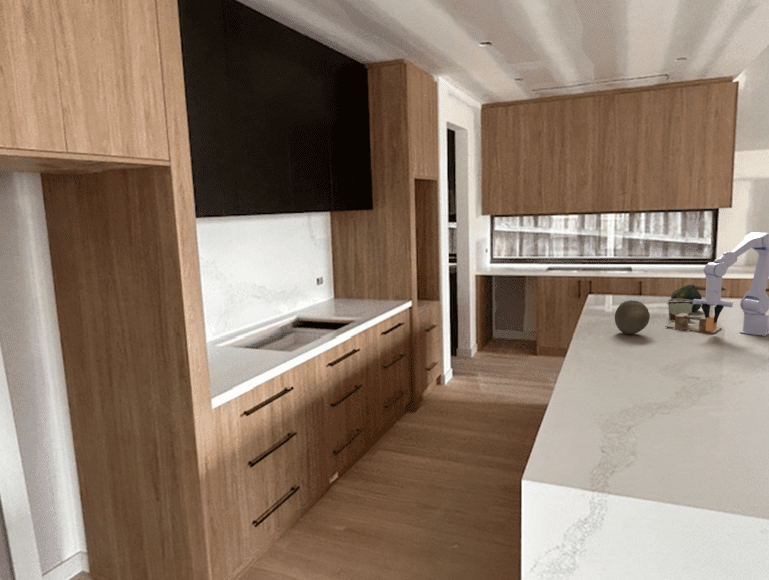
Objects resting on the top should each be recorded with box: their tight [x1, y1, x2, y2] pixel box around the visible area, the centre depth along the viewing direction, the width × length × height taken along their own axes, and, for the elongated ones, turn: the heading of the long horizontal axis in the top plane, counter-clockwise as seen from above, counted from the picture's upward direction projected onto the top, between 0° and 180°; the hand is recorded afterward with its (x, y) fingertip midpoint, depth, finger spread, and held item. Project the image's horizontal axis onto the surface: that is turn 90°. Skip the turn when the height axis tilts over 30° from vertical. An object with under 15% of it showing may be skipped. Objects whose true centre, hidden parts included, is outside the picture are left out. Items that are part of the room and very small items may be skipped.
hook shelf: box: [664, 313, 723, 335], centre depth 255 cm, size 20×13×6 cm, turn 46°
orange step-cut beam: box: [706, 315, 718, 331], centre depth 239 cm, size 2×7×6 cm, turn 136°
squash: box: [670, 284, 703, 312], centre depth 297 cm, size 14×15×15 cm
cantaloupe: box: [614, 299, 651, 335], centre depth 245 cm, size 14×14×15 cm
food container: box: [666, 298, 694, 321], centre depth 276 cm, size 12×6×10 cm, turn 84°
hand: (711, 322), depth 239 cm, fingers closed on orange step-cut beam, 2 cm apart
